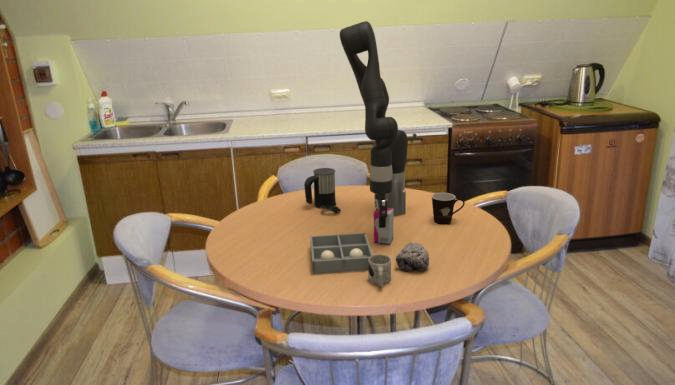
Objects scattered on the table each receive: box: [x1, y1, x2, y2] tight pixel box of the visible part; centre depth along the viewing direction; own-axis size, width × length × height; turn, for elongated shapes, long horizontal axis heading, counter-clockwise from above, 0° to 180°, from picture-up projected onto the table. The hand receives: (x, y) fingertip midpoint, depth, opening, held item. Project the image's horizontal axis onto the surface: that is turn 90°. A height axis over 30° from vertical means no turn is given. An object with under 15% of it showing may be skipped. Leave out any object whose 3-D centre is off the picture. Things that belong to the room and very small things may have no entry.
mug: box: [367, 253, 392, 287], centre depth 151 cm, size 10×7×7 cm, turn 178°
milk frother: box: [303, 167, 342, 214], centre depth 208 cm, size 14×16×15 cm
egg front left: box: [349, 248, 363, 258], centre depth 162 cm, size 4×4×4 cm
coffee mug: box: [431, 192, 466, 226], centre depth 191 cm, size 12×9×10 cm
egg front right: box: [321, 250, 335, 260], centre depth 162 cm, size 4×4×4 cm
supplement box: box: [373, 208, 395, 246], centre depth 177 cm, size 6×6×12 cm
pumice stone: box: [395, 241, 430, 272], centre depth 159 cm, size 10×8×10 cm
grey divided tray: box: [309, 232, 374, 275], centre depth 167 cm, size 19×19×4 cm
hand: (380, 222), depth 177 cm, fingers open, 8 cm apart
